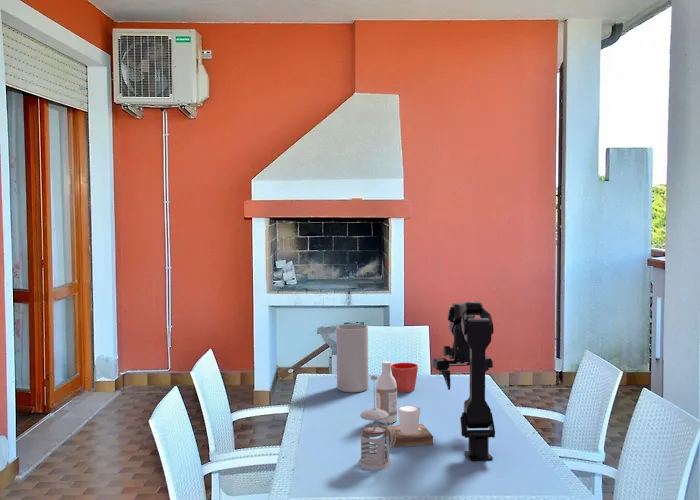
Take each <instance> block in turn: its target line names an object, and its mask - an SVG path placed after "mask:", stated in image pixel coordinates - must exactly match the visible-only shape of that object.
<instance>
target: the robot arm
mask: <svg viewBox="0 0 700 500" xmlns="http://www.w3.org/2000/svg"><path fill="white" fill-rule="evenodd" d="M476 316H479V318H476ZM447 321H448V323H449V326H448V330H449V332H450V333H451V335H453V343H452V347H451V346H450V345H444V346H443V347H442V350H443V352H442V353H443V356H444V357H435V358H433V360H432V367H433V368H434V369H435V370H436V371H438V372H440V373H441V374H442V376H443V378H444V381H445V384H446V387H447V390H448V391H450V390H451V370H449V368H450V367H464V366H469V397H468V398H467V399H465V400H464V402H463V412H461V416H460V417H459V418H460V429H461V433H460V435H461V437H464V438H465V439H467V438H468V441H467V443H468V444H467V446H468V450H465V451H464V454H465V456H466V457H467V458H468V459H469V460H470V462H472V461H473V462H475V461H489V460H490V461H491V460H493V459H494V457H493V455H491V454H490V453H489V452H490V451H489V446H490V445H489V443H490V441H489V440H490V439H489V438H492V439H493V438H494V439H495V438H496V429H495V428H496V427H495V422H494V418H493V412H492V410H491V408H490V406H489V404H488V402H487V401H486V373H487V371H488V372H489V371H490V369H492V368H493V367H494V361H493V360H492V358H491V357H489V356H487V355H486V350H487V349H488V347H489V345H490V344H491V342H492V335H493V334H494V329H495V327H494V321H493V318H492V315H491V314H490V313H489V311H487V310H486V309H485V308H484V306H483V303H482V302H481V301H466V302H464V303H463V302H462V303H461V302H459V303H458V302H457V303H455V302H454V303H452V305H451V306H450V307H449V309H448V313H447ZM445 357H449V360H448V359H447V358H445Z"/></svg>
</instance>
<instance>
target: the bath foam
mask: <svg viewBox="0 0 700 500" xmlns="http://www.w3.org/2000/svg"><path fill="white" fill-rule="evenodd" d="M391 365H392V363H391V361H389V360H388V361H387V360H385V361H382V362H381V374H380V375H379V377H378V378H377V381H376V388H375V390H376V391H375V393H376V394H375V395H376V396H375V397H376V399H375V403H376V404H375V408H378V409H381V410H384V411H386V412H387V413H388V414H389V416H388V418H386V419H383V420H377V421H376V422H378V423H381V424H384V423H386V424H387V422H390V423H391V424H393V422H394V423H395V421H396V419H397V420H398V391H397V384H396V381H395V379H394V377H393V375H392V371H391ZM396 422H397V421H396ZM390 423H389V424H390Z"/></svg>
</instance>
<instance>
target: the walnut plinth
mask: <svg viewBox="0 0 700 500" xmlns="http://www.w3.org/2000/svg"><path fill="white" fill-rule="evenodd" d="M386 426H387V425H386ZM388 426H389V428H390V429H389V428H388ZM388 426H387V427H386V428H387V431H386V432H387V433H388V440H389V442H391V432H392V444H391V445H393V443H394V441H395V432H396V441H395V443H394V445H393V446H392V447H393V448H399V447H401V448H402V447H415V446H416V447H417V446H429V445H430V446H431V445H432V446H433V445H434V435H432V433H431V432H430V431H429V430H428V428H427V426H425V425H424V423H419V428H418V432H416V433H412V434H407V433H402V432H401V431H400V424H399V425H396V424H395V425H393V427H394V429H395V432H394V429H393V427H392V426H391V425H388ZM390 430H391V432H390Z"/></svg>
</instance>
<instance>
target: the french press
mask: <svg viewBox="0 0 700 500" xmlns="http://www.w3.org/2000/svg"><path fill="white" fill-rule="evenodd" d="M370 380H372V381H375V380H377V381H378V375H376V374H372V375H371V376H370ZM375 390H376V388H375V387H373V407H372V408H368V409H365V410H363V411H362V412H360V414H359V417H360V418H361V419H362V420H366V421H370V422H371V421H373V424H368V425H364V426H363V427H362V428H361V431H362V432H361V434H360V456H361V457H360V458H359V459H358V461H357V465H358V466H359V467H360V468H361V467H362V468H363V469H368V470H383V469H386V468H389V467H390V466H392V465H393V460H391V459H390V457H389V453H390V451H389V449H390V448H391V447H394V446H393V445H394V443H395V441H396V432H395V429H394V427H393V426H394V425H393V423H390V422H387V423H382V424H383V425H381V424H376V423H375V422H378V421H377V420H383V419H386V418H388V416H389V414H388V413H387V412H386V411H384V410H381V409H378V408H376V404H375V403H376V399H375V397H376V396H375V395H376V394H375V393H376V391H375ZM389 424H390V425H389ZM387 426H388V428H389V426H392V427H393V429H394V432H395V441H394V443H393V444H392V432H391V430H390V432H391V441H390V440H389V438H388V433H387V432H386V431H387V428H386V427H387ZM389 429H390V428H389ZM383 435H385V436H383ZM380 436H381V437H380ZM377 437H379V438H377ZM389 442H390V444H389Z"/></svg>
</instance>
